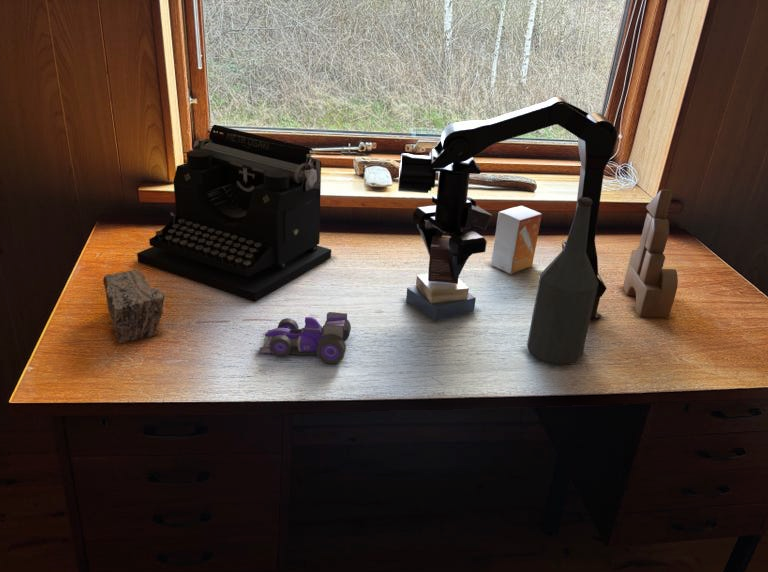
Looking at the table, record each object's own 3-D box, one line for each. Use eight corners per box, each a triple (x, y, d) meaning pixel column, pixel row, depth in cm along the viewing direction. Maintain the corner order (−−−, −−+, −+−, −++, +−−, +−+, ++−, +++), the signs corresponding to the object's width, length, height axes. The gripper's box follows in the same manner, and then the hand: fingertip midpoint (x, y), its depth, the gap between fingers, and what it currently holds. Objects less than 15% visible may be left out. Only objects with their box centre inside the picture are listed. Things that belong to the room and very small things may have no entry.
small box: (510, 274, 167) (519, 220, 160) (489, 265, 171) (497, 211, 164) (533, 266, 172) (542, 213, 166) (512, 257, 176) (520, 204, 169)
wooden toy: (670, 318, 155) (704, 204, 142) (639, 317, 154) (670, 201, 141) (648, 286, 168) (677, 178, 155) (620, 284, 168) (646, 176, 154)
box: (459, 272, 151) (463, 238, 147) (457, 284, 145) (461, 250, 142) (429, 269, 151) (432, 235, 147) (427, 281, 146) (430, 246, 142)
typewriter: (137, 261, 158) (123, 144, 144) (223, 224, 178) (216, 119, 165) (254, 302, 146) (250, 178, 133) (331, 257, 167) (333, 147, 154)
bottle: (569, 373, 133) (605, 214, 117) (519, 356, 137) (547, 199, 121) (587, 349, 141) (623, 197, 125) (539, 334, 144) (568, 184, 129)
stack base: (474, 310, 151) (476, 297, 149) (435, 321, 145) (436, 308, 144) (444, 291, 157) (445, 278, 156) (405, 300, 152) (406, 287, 151)
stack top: (467, 299, 148) (469, 288, 147) (430, 303, 145) (432, 292, 144) (451, 282, 154) (452, 271, 153) (415, 285, 152) (416, 274, 150)
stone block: (171, 337, 132) (167, 299, 129) (118, 346, 128) (112, 307, 124) (154, 303, 143) (150, 266, 139) (104, 310, 139) (98, 273, 135)
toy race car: (269, 331, 137) (269, 299, 134) (350, 338, 137) (351, 307, 134) (258, 357, 129) (256, 325, 126) (343, 365, 129) (344, 333, 126)
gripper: (515, 206, 136) (504, 283, 144) (463, 175, 150) (455, 247, 158) (463, 212, 131) (454, 292, 139) (414, 179, 145) (409, 253, 153)
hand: (444, 269), depth 147 cm, fingers closed on box, 8 cm apart
